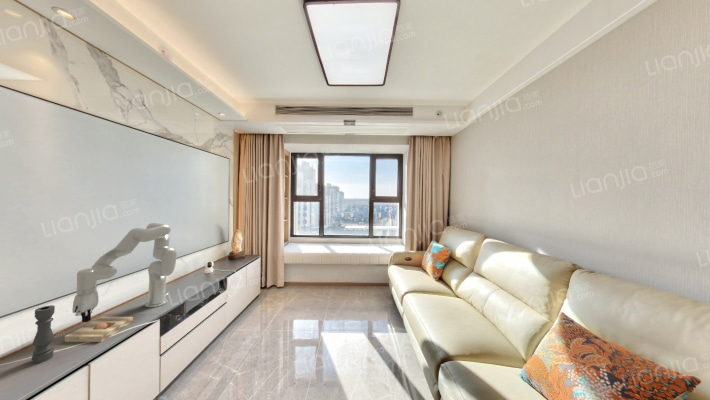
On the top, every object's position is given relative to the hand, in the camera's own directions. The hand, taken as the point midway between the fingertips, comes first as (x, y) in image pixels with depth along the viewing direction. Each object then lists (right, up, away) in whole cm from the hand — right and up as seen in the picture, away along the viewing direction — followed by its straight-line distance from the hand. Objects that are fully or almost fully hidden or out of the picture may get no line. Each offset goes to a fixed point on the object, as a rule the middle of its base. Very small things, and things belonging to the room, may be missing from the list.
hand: (86, 321), depth 133 cm
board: (+8, -6, 0) cm, 10 cm away
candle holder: (+6, -6, -23) cm, 24 cm away
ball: (+9, -4, 0) cm, 10 cm away
